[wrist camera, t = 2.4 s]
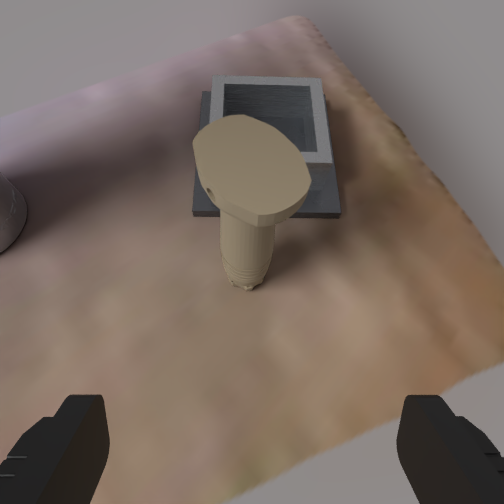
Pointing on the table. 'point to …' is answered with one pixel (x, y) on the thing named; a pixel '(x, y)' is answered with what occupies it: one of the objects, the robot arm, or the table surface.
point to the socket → (288, 123)
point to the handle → (249, 190)
